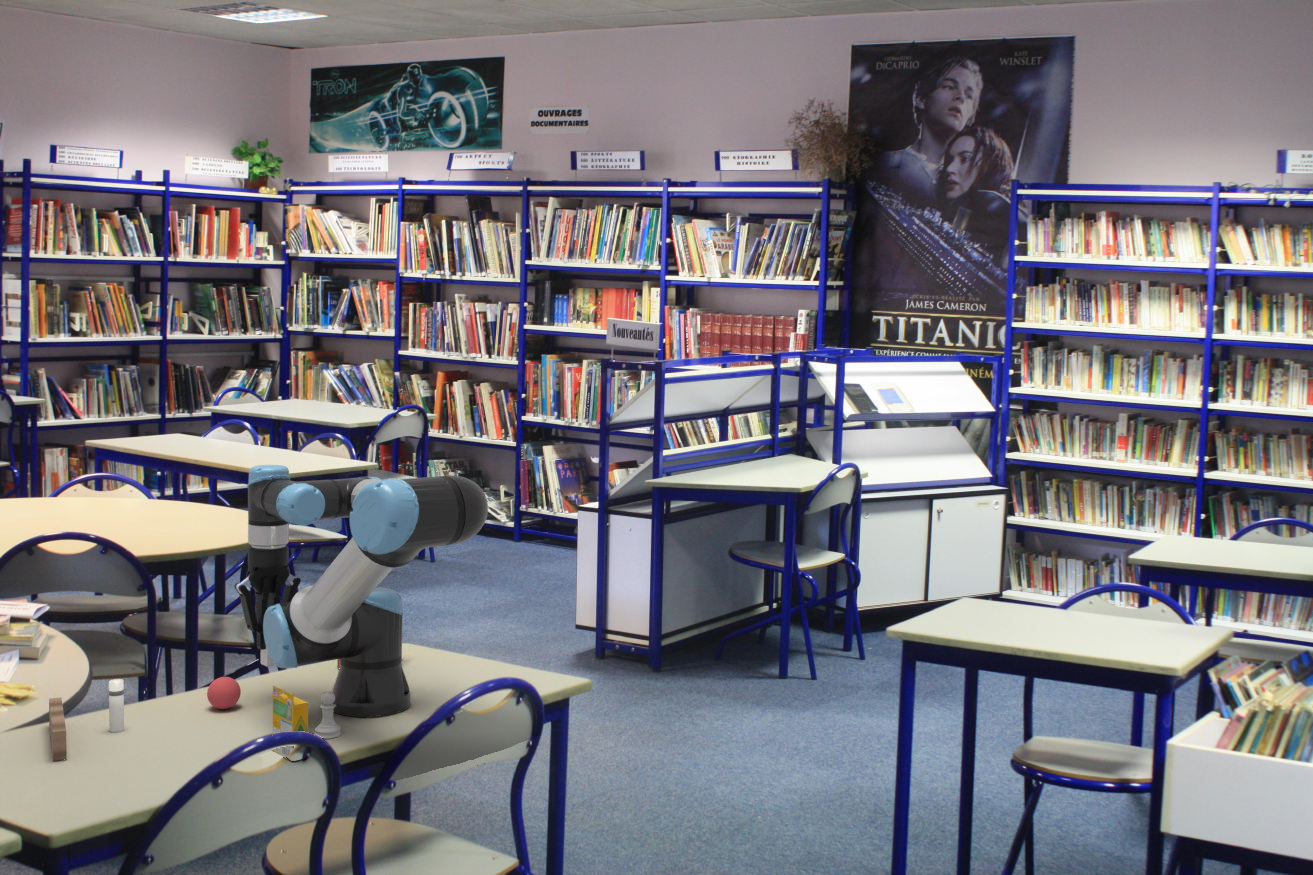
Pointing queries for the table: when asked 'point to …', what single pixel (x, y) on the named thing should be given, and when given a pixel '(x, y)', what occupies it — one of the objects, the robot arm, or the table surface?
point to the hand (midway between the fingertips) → (267, 664)
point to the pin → (116, 705)
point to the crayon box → (288, 716)
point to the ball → (223, 693)
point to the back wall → (57, 729)
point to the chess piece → (328, 718)
